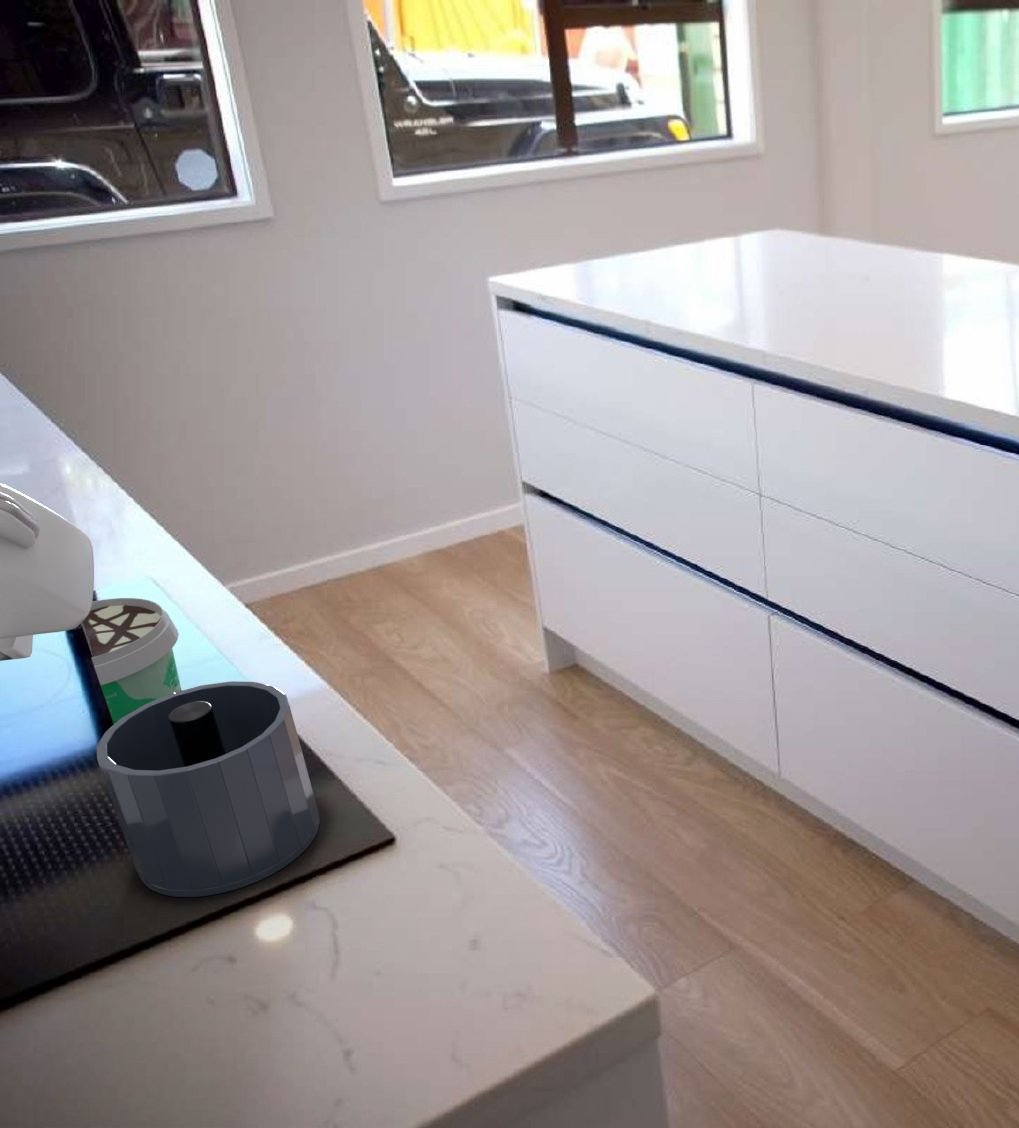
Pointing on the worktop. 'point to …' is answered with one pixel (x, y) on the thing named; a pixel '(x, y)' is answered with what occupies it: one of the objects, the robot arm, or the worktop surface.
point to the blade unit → (196, 733)
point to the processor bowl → (211, 792)
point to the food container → (132, 652)
